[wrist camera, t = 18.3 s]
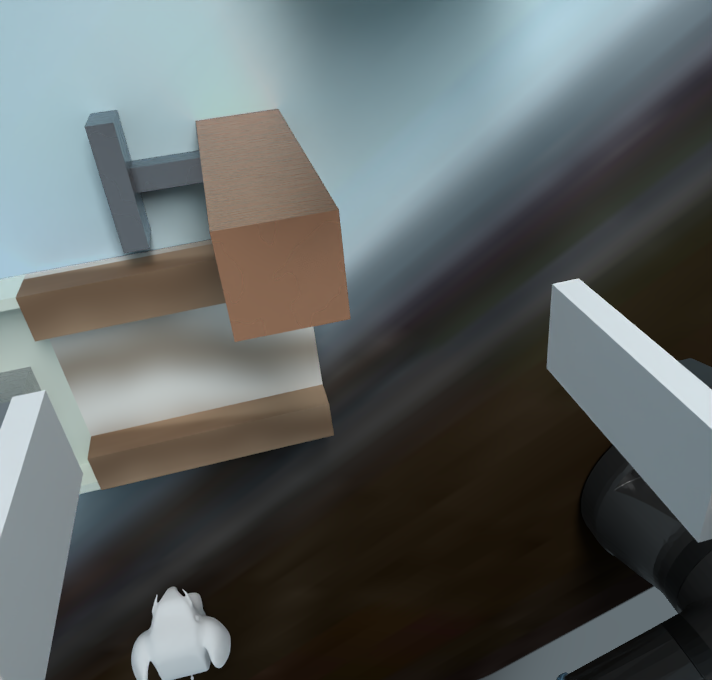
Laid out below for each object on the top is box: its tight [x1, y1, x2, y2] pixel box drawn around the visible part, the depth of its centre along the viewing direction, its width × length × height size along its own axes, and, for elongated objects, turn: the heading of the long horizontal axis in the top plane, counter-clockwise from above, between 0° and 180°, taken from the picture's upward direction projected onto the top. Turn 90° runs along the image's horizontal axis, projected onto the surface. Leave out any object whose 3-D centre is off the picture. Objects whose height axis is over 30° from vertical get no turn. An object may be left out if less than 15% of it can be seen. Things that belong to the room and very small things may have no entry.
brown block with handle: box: [85, 109, 350, 342], centre depth 26 cm, size 6×9×14 cm
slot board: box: [16, 240, 334, 490], centre depth 37 cm, size 13×14×3 cm
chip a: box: [0, 367, 41, 428], centre depth 35 cm, size 4×4×3 cm
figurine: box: [131, 587, 231, 680], centre depth 46 cm, size 7×8×6 cm
